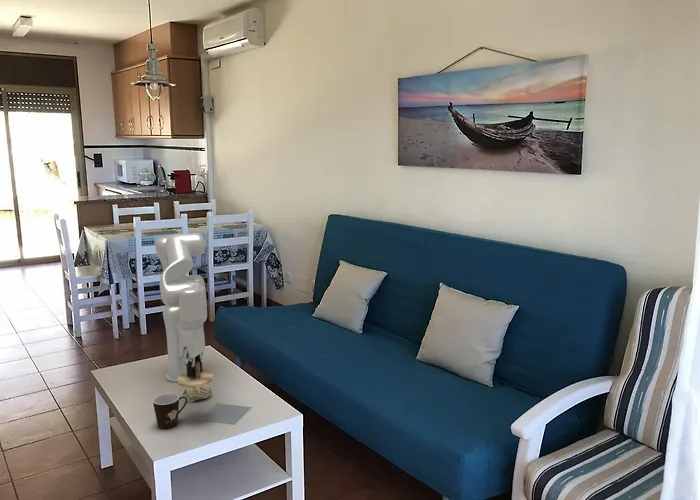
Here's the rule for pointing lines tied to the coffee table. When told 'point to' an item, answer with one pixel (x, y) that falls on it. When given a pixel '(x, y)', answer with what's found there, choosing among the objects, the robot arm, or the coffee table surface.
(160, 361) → the coffee table surface
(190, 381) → the lid
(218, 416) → the mat
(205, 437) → the coffee table surface
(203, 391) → the seashell
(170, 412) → the coffee mug
